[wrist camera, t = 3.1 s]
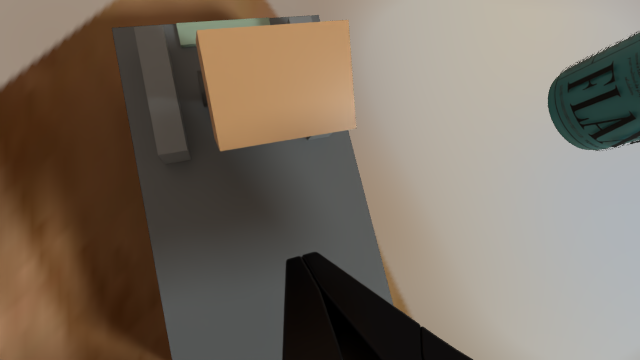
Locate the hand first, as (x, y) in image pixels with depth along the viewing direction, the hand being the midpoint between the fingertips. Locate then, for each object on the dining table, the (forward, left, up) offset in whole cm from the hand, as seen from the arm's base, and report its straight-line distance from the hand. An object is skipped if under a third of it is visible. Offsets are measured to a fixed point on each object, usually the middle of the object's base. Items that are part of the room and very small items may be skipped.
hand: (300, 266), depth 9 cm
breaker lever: (+5, -5, -4) cm, 8 cm away
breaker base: (+2, -2, -10) cm, 11 cm away
